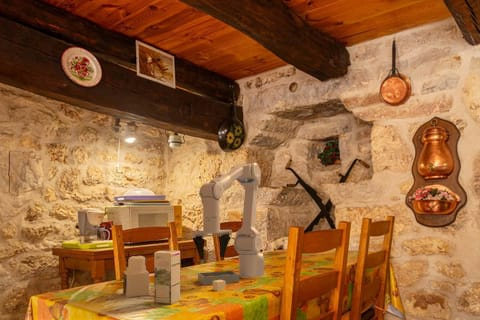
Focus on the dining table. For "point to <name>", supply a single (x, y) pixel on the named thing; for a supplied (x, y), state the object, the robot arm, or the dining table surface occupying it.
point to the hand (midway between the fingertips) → (212, 258)
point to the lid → (219, 285)
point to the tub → (218, 277)
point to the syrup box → (166, 277)
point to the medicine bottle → (136, 277)
